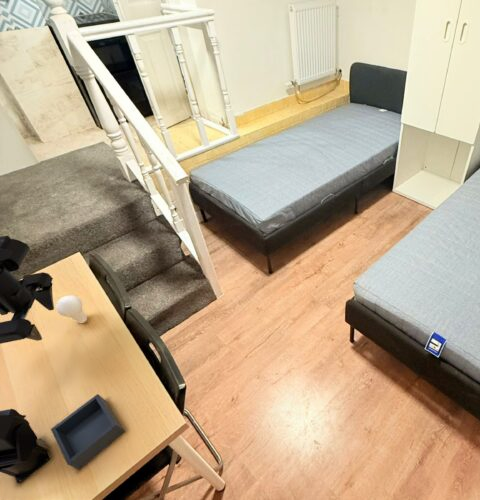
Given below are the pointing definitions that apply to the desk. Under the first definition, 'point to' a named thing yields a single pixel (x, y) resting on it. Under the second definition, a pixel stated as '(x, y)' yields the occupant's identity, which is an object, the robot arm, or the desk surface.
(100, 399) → the bin
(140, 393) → the desk surface
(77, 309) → the lightbulb
